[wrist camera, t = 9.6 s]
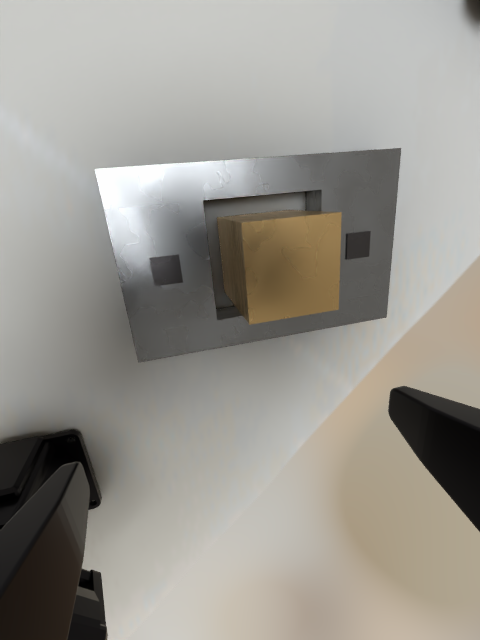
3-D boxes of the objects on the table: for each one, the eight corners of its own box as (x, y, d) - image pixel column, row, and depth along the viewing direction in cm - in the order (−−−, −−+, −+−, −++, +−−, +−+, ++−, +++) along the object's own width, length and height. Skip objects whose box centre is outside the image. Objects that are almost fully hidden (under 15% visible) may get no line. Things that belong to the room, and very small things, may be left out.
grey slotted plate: (368, 308, 23) (387, 317, 21) (140, 347, 20) (138, 363, 18) (378, 153, 19) (402, 147, 17) (101, 172, 16) (94, 168, 14)
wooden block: (291, 282, 21) (338, 309, 15) (224, 291, 20) (249, 324, 15) (289, 209, 19) (341, 212, 14) (216, 217, 18) (241, 222, 13)
